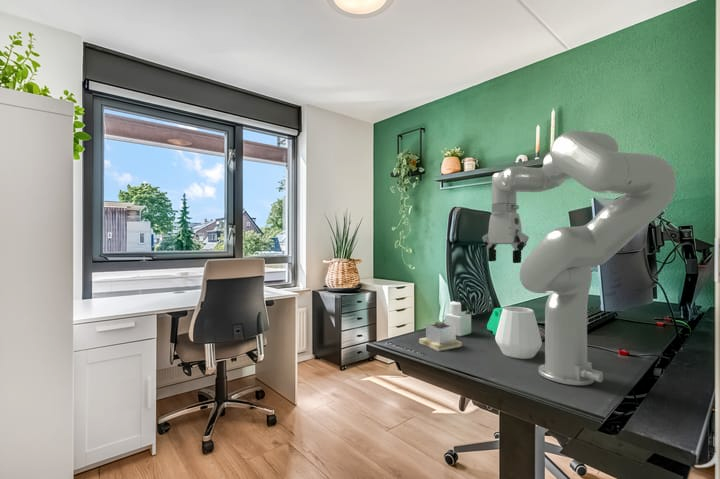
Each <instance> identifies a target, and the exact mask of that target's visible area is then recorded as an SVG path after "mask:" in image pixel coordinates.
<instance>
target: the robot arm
mask: <svg viewBox="0 0 720 479" xmlns="http://www.w3.org/2000/svg"><path fill="white" fill-rule="evenodd" d="M618 145H619V144H618V142H617V141H616V139H615V138H614V137H612V136H611V135H609V134H607V133H604V132H595V131H584V130H569V131H565V132H563V133H562V134H560V135H559V136H558V137H556V138H555V140H554V141H553V142H552V145H551V147H550V151H549V152H547V153H546V154H545V156H544V158H543V161H542V167H529V166H526V167H525V166H510V167H507V168H505V169H504V170H502V171H498V172H495V173H493V174H492V176H491V214H490V217H489V222H488V232H487V233H486V234H484V235H483V236H482V237H481V239H482V241H483V244H484V246H485V248H486V250H487V261H488V262H496V261H497V250H496V249H495V248H496V247H497V246H498V245H510V246H511V247H512V248H513V250H512V263H513V264H520V263H522V264H521V266H520V269H519V279H520V282H521V283H520V284H521V285H522V286H523V288H524V289H526V290H527V291H529V292H531V293H535V294H549V295H548V297H547V300H546V302H545V306H544V364H541V365H539V366H538V373H539V375H540V376H541V377H543V378H545V379H547V380H550V381H552V382H556V383H560V384H564V385H569V386H589V385H592V384H593V383H595V382H596V383H597V382H598V383H602V382H603V380H604V375H603V374H604V373H603V371H601V370H596V369H593V368H592V366H593V365H592V362H590V361H588V301H589V294H590V288H591V285H592V280H593V274H592V268H591V267H596V266H602V265H604V264H605V263H607V261H609V260H610V259H611V258H613V257H614V255H616V254H617V253H618V252H619V251H620V250H621V249H622V248H624V247H625V245H626V244H628V243H629V242H630V241H631V240H633V239H634V237H635V236H636V235H637V234H638V233H640V232H641V231H642V230H643V229H645V228H646V227H647V226H648V225H649V224H651V223H652V222H653V221H654V220H655V219H656V218H658V217H659V216H660V215H661V214H662V213H663V212H664V211H665V209H666V208H667V207H668V206H669V204H670V203H671V201H672V200H673V197H674V195H675V191H676V187H677V176H676V173H675V170H674V168H673V166H672V165H671V164H670V162H668V161H667V160H665V158H662V157H659V156H656V155H653V154H647V153H637V152H624V151H623V152H622V151H621V152H620V151H619V146H618ZM571 178H572V179H573V180H574V181H576V182H577V183H578V184H580V185H581V186H582V187H584V188H586V189H587V190H589V191H593V192H597V193H599V194H600V193H601V194H619V195H620V196H619V197H618V198H616V199H615V200H613V201H612V202H610V203H608V204H607V205H605V206H604V207H603V208H602V209H601V210H599V211H598V212H597V214H596V215H595V216H594V217H593V218H592V219H591V220H590V221H589V222H588V223H586V224H584V225H579V226H562V227H556V228H554V229H552V230H550V231H549V232H548V233H547V234H546V235H544V237H543V238H542V239H541V240H540V241H539V242H538V244H537V245H536V246H535V247H534V249H533V250H531V252H530V253H529V254H528V256H527V257H526V258H525V259H524V260H523V261H522V251H523V250H524V248H525V247H526V246H527V243H528V241H529V239H530V237H529V236H528V235H527V234H526V233H523V231H522V229H523V228H522V222H521V217H520V214H519V213H517V210H519V209H520V205H518V204H517V193H518V192H519V193H522V192H523V193H525V192H526V193H541V192H545V191H549V190H552V189H555V188H558V187H560V186H561V185H562V184H563V183H564V182H565V181H566V180H569V179H571Z"/></svg>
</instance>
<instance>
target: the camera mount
mask: <svg viewBox="0 0 720 479" xmlns="http://www.w3.org/2000/svg"><path fill="white" fill-rule="evenodd" d="M503 308H504V307H495V308H494V309H493V310H492V313H491V315H490V317H489V320H488V322H487V325H486V329H487V330H489V331H492V334H493V335H495V336H496V332H497V329H498V325H499V321H500V317H501V314H502V310H503Z"/></svg>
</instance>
